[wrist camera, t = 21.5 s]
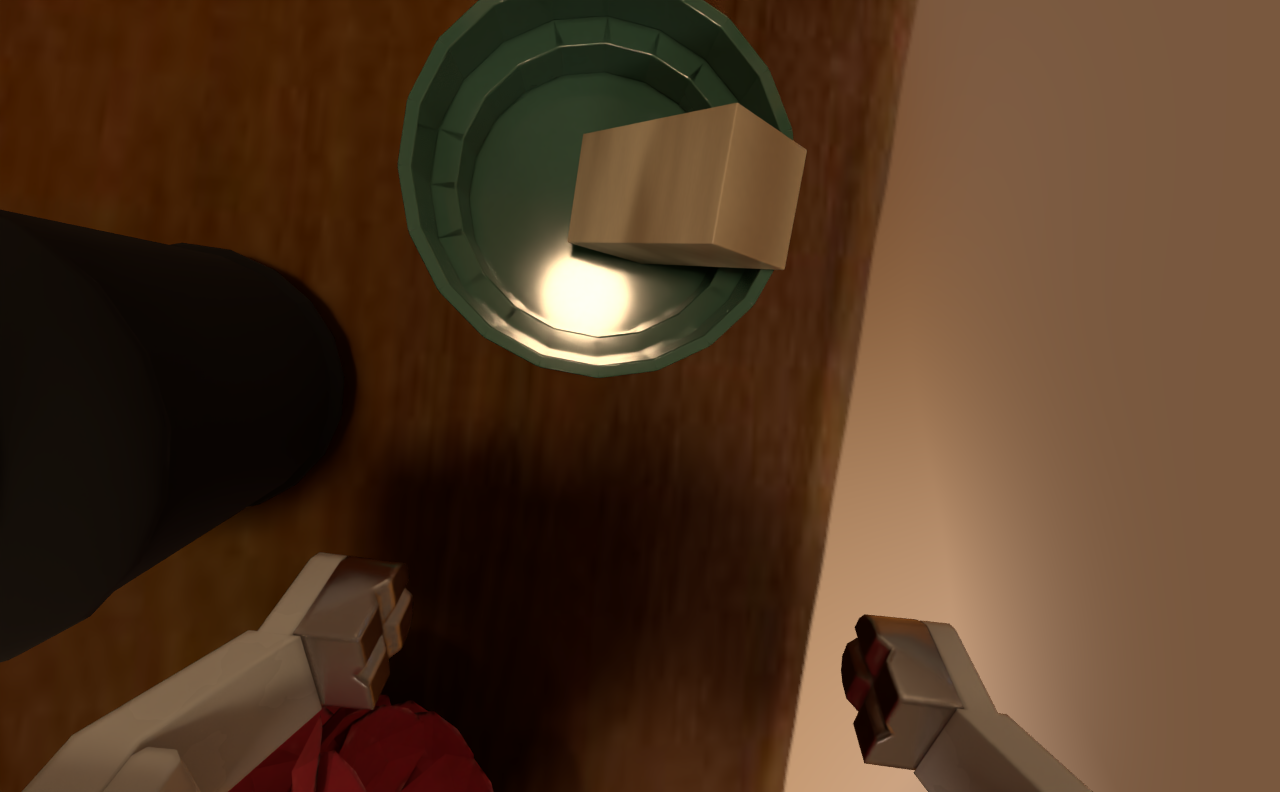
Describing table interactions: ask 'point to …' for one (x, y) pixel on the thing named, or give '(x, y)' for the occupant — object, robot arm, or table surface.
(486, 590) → the table surface
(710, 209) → the plain beige block
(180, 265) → the container
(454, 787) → the bouquet
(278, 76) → the table surface
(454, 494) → the table surface
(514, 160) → the green pet bowl
